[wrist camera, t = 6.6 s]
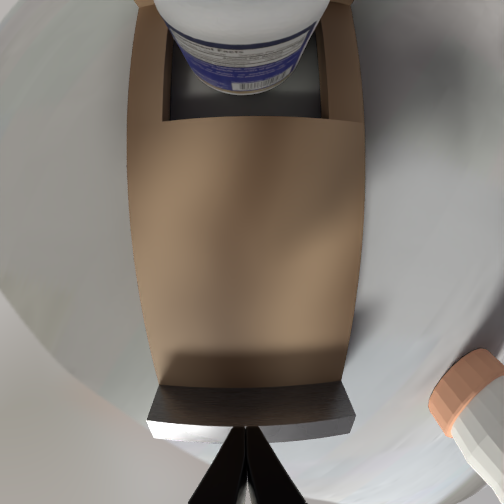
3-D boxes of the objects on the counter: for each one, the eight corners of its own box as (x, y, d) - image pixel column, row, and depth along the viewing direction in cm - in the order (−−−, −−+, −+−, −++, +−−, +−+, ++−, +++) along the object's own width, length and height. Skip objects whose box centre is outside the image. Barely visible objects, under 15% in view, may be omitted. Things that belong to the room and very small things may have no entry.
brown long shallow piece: (339, -4, 9) (364, -44, 5) (332, 385, 15) (349, 433, 11) (149, -2, 9) (125, -41, 5) (168, 389, 15) (154, 437, 11)
